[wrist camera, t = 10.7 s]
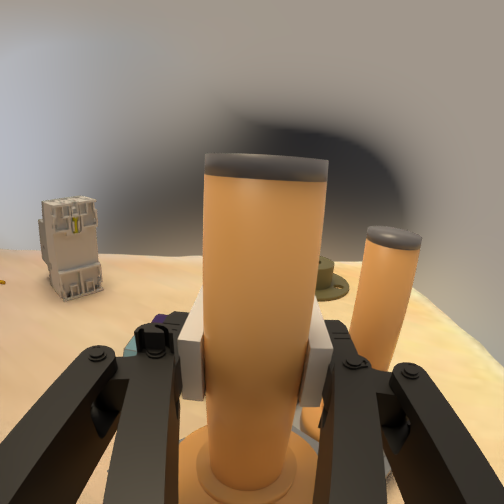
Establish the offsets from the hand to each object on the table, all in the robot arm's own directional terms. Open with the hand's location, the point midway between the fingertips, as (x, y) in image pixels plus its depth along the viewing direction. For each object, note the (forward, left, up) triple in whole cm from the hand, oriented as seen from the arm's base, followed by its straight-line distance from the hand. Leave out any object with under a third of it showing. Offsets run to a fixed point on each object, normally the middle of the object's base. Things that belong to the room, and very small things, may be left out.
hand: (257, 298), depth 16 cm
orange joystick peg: (-4, -4, -9) cm, 11 cm away
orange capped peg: (+8, -4, -13) cm, 16 cm away
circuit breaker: (-2, +44, -15) cm, 47 cm away
